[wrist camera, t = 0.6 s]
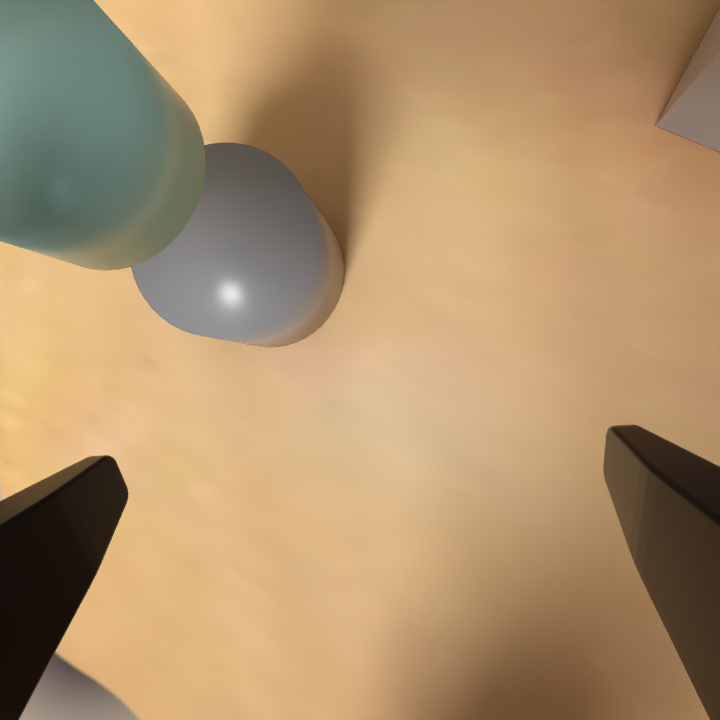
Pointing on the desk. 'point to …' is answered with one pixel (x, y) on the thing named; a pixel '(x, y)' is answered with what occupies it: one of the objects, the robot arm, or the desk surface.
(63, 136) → the pump head
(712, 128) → the perfume bottle
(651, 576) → the robot arm
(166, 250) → the grey rounded lump
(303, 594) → the desk surface
